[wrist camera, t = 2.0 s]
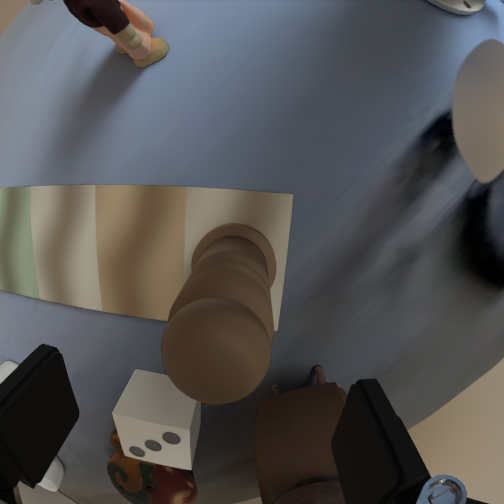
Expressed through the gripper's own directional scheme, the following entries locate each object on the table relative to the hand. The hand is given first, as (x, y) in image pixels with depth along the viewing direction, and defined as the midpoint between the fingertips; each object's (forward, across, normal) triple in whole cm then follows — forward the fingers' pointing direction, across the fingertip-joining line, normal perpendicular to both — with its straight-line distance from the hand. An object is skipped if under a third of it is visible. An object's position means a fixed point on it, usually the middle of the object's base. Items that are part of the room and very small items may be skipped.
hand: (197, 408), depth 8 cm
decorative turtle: (+14, +7, +23) cm, 28 cm away
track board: (+14, +10, -1) cm, 17 cm away
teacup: (+15, +27, +33) cm, 45 cm away
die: (+14, +5, +13) cm, 20 cm away
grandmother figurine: (+13, +8, -17) cm, 23 cm away
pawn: (+13, 0, -1) cm, 13 cm away
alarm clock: (+14, -8, +12) cm, 20 cm away
